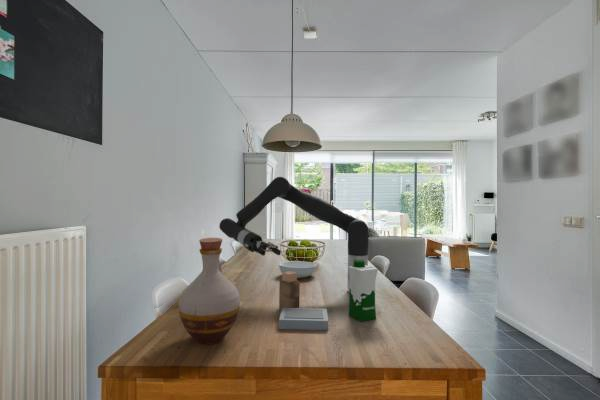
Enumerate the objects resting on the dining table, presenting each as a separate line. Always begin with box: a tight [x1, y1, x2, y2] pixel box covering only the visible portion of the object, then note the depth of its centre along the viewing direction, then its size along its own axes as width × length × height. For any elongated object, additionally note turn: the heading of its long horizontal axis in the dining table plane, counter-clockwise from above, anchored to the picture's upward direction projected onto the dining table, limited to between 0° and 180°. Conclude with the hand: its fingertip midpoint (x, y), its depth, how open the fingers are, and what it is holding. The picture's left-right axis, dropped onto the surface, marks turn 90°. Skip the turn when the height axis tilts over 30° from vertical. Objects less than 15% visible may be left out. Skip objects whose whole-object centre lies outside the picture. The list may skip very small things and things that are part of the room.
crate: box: [278, 279, 301, 311], centre depth 127 cm, size 6×6×11 cm
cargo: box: [281, 271, 298, 282], centre depth 127 cm, size 4×4×3 cm
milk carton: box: [347, 260, 378, 322], centre depth 119 cm, size 9×9×20 cm
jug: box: [178, 237, 241, 345], centre depth 99 cm, size 20×18×30 cm
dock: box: [278, 307, 329, 331], centre depth 112 cm, size 16×12×3 cm
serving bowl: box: [278, 260, 318, 279], centre depth 183 cm, size 21×21×7 cm
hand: (272, 253), depth 135 cm, fingers open, 8 cm apart
